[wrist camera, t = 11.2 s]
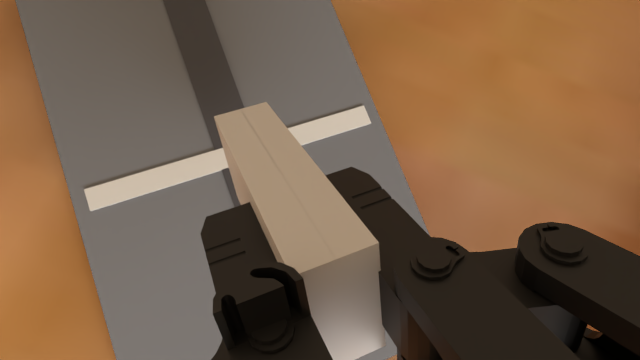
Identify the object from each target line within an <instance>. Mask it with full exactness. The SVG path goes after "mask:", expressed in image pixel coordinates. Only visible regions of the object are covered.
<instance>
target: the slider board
mask: <svg viewBox="0 0 640 360" xmlns="http://www.w3.org/2000/svg"><path fill="white" fill-rule="evenodd" d="M15 1H16V5H17V8H18V12H19V15H20V19H21V22H22V26H23V29H24V33H25V37H26V40H27V44H28V47H29V51H30V54H31V58H32V61H33V65H34V68H35V72H36V76H37V79H38V83H39V86H40V90H41V93H42V97H43V100H44V104H45V108H46V111H47V115H48V118H49V122H50V125H51V129H52V132H53V136H54V140H55V143H56V147H57V150H58V154H59V157H60V161H61V164H62V168H63V171H64V175H65V179H66V182H67V186H68V189H69V193H70V196H71V200H72V203H73V207H74V211H75V214H76V218H77V221H78V225H79V228H80V232H81V235H82V239H83V243H84V246H85V250H86V253H87V257H88V260H89V264H90V267H91V271H92V274H93V278H94V282H95V285H96V289H97V292H98V296H99V299H100V303H101V306H102V310H103V314H104V317H105V321H106V324H107V328H108V331H109V335H110V338H111V342H112V346H113V349H114V353H115V356H116V360H211V359H212V358H213V356H214V355H215V354H216V352H217V350H218V348H219V346H220V344H221V342H222V336H221V333H220V331H219V328H218V326H217V323H216V321H215V319H214V316H213V298H214V296H215V294H216V292H215V288H214V284H213V280H212V276H211V272H210V269H209V265H208V261H207V257H206V253H205V250H204V246H203V242H202V238H201V234H200V233H201V230H202V228H203V225H204V222H205V219H206V217H207V216H210V215H213V214H216V213H219V212H222V211H225V210H228V209H231V208H234V207H237V206H240V205H241V204H240V202H239V199H238V197H237V194H236V191H235V187H234V184H233V180H232V177H231V173H230V170H229V167H228V163H227V160H226V156H225V153H224V149H223V146H222V143H221V139H220V136H219V132H218V129H217V126H216V122H215V119H214V116H217V115H220V114H224V113H228V112H231V111H235V110H238V109H242V108H246V107H249V106H253V105H257V104H260V103H264V102H267V103H268V105H269V106H270V107H271V108H272V110H273V111H274V112H275V113H276V115H277V116H278V117H279V118H280V120H281V121H282V122H283V123H284V125H285V126H286V127H287V128H288V130H289V131H290V132H291V133H292V135H293V136H294V137H295V138H296V140H297V141H298V142H299V143H300V145H301V146H302V147H303V148H304V150H305V151H306V152H307V153H308V155H309V156H310V157H311V158H312V160H313V161H314V162H315V163H316V165H317V166H318V167H319V168H320V170H321V171H322V172H323V173H324V175H328V174H331V173H334V172H337V171H340V170H343V169H346V168H349V167H354V168H356V169H358V170H361V171H363V172H365V173H368V174H370V175H371V176H372V177H373V178H374V179H375V180H376V181H377V182H378V183H379V184H380V186H381V187H382V189H384V190H385V191H386V192H387V193H388V194H389V195H390V196H391V198H392V199H394V200H395V201H396V202H397V203H398V204H399V205H400V206H401V207H402V208H403V209H404V210H405V211H406V212H407V213H408V214H409V215H410V216H411V217H412V218H413V219H414V220H415V221H416V222H417V223H418V224H419V226H420V227H421V228H422V229H423V230H424V231H425V232H426V233H427V234H428V235H429V233H428V231H427V228H426V226H425V224H424V221H423V219H422V216H421V214H420V212H419V209H418V207H417V205H416V202H415V200H414V198H413V195H412V193H411V190H410V188H409V186H408V183H407V181H406V179H405V176H404V174H403V171H402V169H401V167H400V164H399V162H398V160H397V157H396V155H395V152H394V150H393V148H392V145H391V143H390V141H389V138H388V136H387V133H386V131H385V129H384V126H383V124H382V122H381V119H380V117H379V114H378V112H377V110H376V107H375V105H374V103H373V100H372V98H371V95H370V93H369V91H368V88H367V86H366V84H365V81H364V79H363V76H362V74H361V72H360V69H359V67H358V65H357V62H356V60H355V57H354V55H353V53H352V50H351V48H350V46H349V43H348V41H347V38H346V36H345V34H344V31H343V29H342V27H341V24H340V22H339V19H338V17H337V15H336V12H335V10H334V8H333V5H332V3H331V0H15ZM429 236H430V235H429ZM385 343H386V346H384V347H382V348H379V349H377V350H375V351H373V352H371V353H368V354H366V355H364V356H362V357H360V358H357V359H355V360H386V359H388V358H390V357H392V356H394V355H396V354H397V347H396V345H395V344H394V342H393V341H392V339H391V338H390V336H389V335H388V333H387V331H386V330H385Z"/></svg>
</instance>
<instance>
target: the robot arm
mask: <svg viewBox="0 0 640 360" xmlns="http://www.w3.org/2000/svg"><path fill="white" fill-rule="evenodd" d="M214 119H215V122H216V126H217V129H218V132H219V136H220V139H221V143H222V146H223V149H224V153H225V156H226V160H227V163H228V167H229V170H230V173H231V177H232V180H233V184H234V187H235V191H236V194H237V197H238V199H239V202H240V204H241V205H240V206H237V207H234V208H231V209H228V210H225V211H222V212H219V213H216V214H213V215H210V216H207V217H206V219H205V222H204V225H203V228H202V230H201V233H200V234H201V238H202V242H203V246H204V250H205V253H206V257H207V261H208V265H209V269H210V272H211V276H212V280H213V284H214V288H215V292H216V294H215V296H214V298H213V316H214V319H215V321H216V323H217V326H218V328H219V331H220V333H221V336H222V342H221V344H220V346H219V348H218V350H217V352H216V354H215V355H214V356H213V358H212V359H211V360H355V359H357V358H360V357H362V356H364V355H366V354H368V353H371V352H373V351H375V350H377V349H379V348H382V347H384V346H386V343H385V330H386V331H387V333H388V335H389V336H390V338H391V339H392V341H393V342H394V344H395V345H396V347H397V360H640V256H638V255H636V254H634V253H632V252H630V251H628V250H626V249H623V248H621V247H619V246H617V245H615V244H613V243H611V242H609V241H607V240H605V239H602V238H600V237H598V236H596V235H594V234H592V233H590V232H588V231H586V230H583V229H580V228H577V227H575V226H572V225H569V224H562V223H554V222H548V223H540V224H535V225H533V226H531V227H529V228H526V229H525V230H524V231H523V233H522V234H521V235H520V237H519V240H518V245H517V248H512V249H503V250H495V251H486V252H468V251H467V250H466V249H464V248H463V247H462V246H460V245H459V244H457V243H456V242H453V241H450V240H446V239H443V238H435V237H430V236H429V235H428V234H427V233H426V232H425V231H424V230H423V229H422V228H421V227H420V226H419V224H418V223H417V222H416V221H415V220H414V219H413V218H412V217H411V216H410V215H409V214H408V213H407V212H406V211H405V210H404V209H403V208H402V207H401V206H400V205H399V204H398V203H397V202H396V201H395V200H394V199H392V198H391V196H390V195H389V194H388V193H387V192H386V191H385V190H384V189H382V187H381V186H380V184H379V183H378V182H377V181H376V180H375V179H374V178H373V177H372V176H371V175H370V174H368V173H365V172H363V171H361V170H358V169H356V168H354V167H349V168H346V169H343V170H340V171H337V172H334V173H331V174H328V175H324V173H323V172H322V171H321V170H320V168H319V167H318V166H317V165H316V163H315V162H314V161H313V160H312V158H311V157H310V156H309V155H308V153H307V152H306V151H305V150H304V148H303V147H302V146H301V145H300V143H299V142H298V141H297V140H296V138H295V137H294V136H293V135H292V133H291V132H290V131H289V130H288V128H287V127H286V126H285V125H284V123H283V122H282V121H281V120H280V118H279V117H278V116H277V115H276V113H275V112H274V111H273V110H272V108H271V107H270V106H269V105H268V103H267V102H264V103H260V104H257V105H253V106H249V107H246V108H242V109H238V110H235V111H231V112H228V113H224V114H220V115H217V116H214ZM587 324H589V325H590V326H592V327H593V328H595V329H597V330H598V331H600V332H597V331H592V330H590V329H588V328H586V327H587Z"/></svg>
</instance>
